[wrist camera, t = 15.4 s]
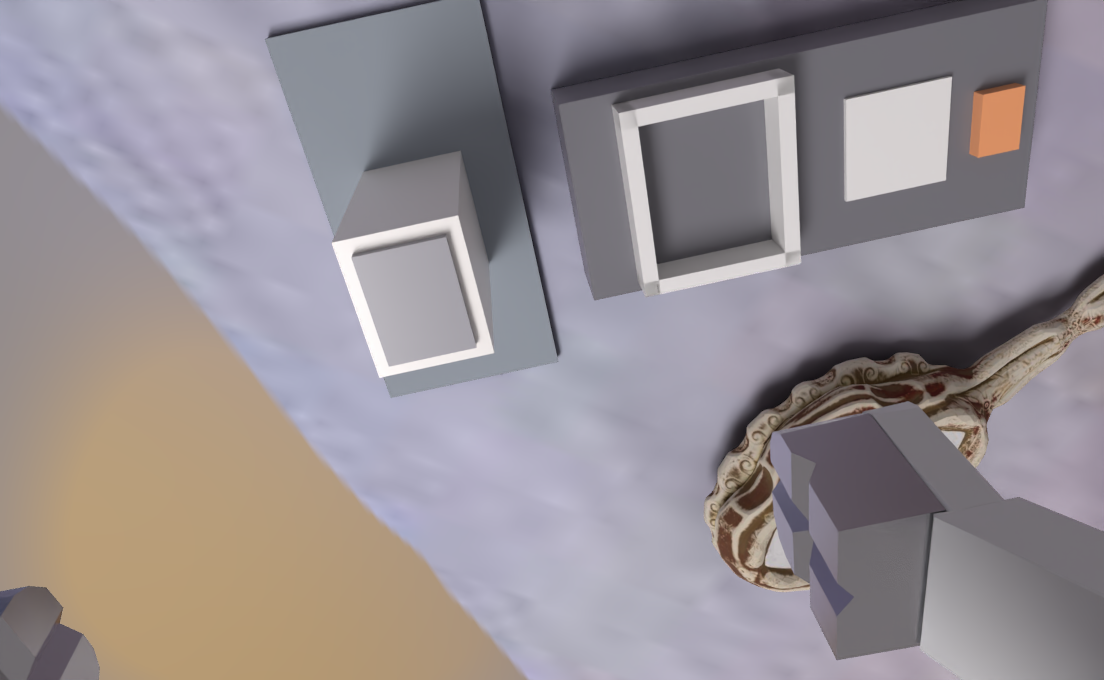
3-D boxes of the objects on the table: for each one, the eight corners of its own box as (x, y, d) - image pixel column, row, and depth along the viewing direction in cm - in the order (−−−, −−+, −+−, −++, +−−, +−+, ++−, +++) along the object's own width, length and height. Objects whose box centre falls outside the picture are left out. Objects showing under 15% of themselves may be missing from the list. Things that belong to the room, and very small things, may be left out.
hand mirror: (1326, 298, 36) (793, 650, 40) (1205, 241, 40) (738, 561, 44) (1348, 126, 29) (708, 567, 33) (1200, 82, 34) (653, 473, 38)
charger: (363, 171, 31) (330, 246, 23) (460, 150, 31) (458, 218, 23) (398, 283, 33) (378, 382, 26) (489, 263, 33) (494, 357, 26)
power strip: (550, 89, 30) (563, 113, 26) (997, -8, 30) (1077, 1, 26) (584, 271, 34) (599, 316, 30) (981, 186, 34) (1048, 219, 30)
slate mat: (267, 38, 28) (264, 39, 28) (477, -9, 28) (477, -8, 28) (391, 393, 36) (390, 397, 36) (557, 357, 36) (558, 361, 36)
